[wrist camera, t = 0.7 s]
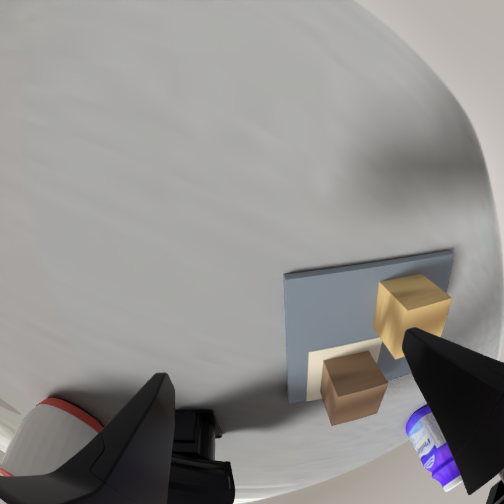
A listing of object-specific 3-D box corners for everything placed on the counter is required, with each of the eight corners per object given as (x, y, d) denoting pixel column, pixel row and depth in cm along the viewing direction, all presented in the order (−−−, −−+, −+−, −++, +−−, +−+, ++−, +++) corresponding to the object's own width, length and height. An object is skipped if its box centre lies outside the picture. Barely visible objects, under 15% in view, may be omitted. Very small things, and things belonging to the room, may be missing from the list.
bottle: (412, 409, 33) (453, 486, 17) (437, 398, 33) (480, 467, 17) (399, 431, 35) (432, 500, 19) (423, 421, 36) (458, 485, 19)
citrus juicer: (126, 457, 33) (109, 546, 15) (42, 418, 30) (9, 496, 11) (135, 422, 29) (110, 546, 10) (29, 370, 25) (-26, 469, 7)
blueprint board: (418, 363, 28) (422, 368, 27) (287, 397, 28) (289, 404, 27) (448, 250, 23) (454, 254, 22) (283, 274, 22) (285, 280, 21)
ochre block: (412, 316, 24) (437, 344, 19) (372, 327, 24) (395, 359, 19) (421, 273, 22) (452, 298, 18) (379, 281, 22) (407, 310, 17)
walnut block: (361, 381, 27) (376, 413, 22) (320, 391, 26) (331, 425, 22) (368, 350, 25) (388, 383, 20) (323, 360, 25) (337, 397, 20)
